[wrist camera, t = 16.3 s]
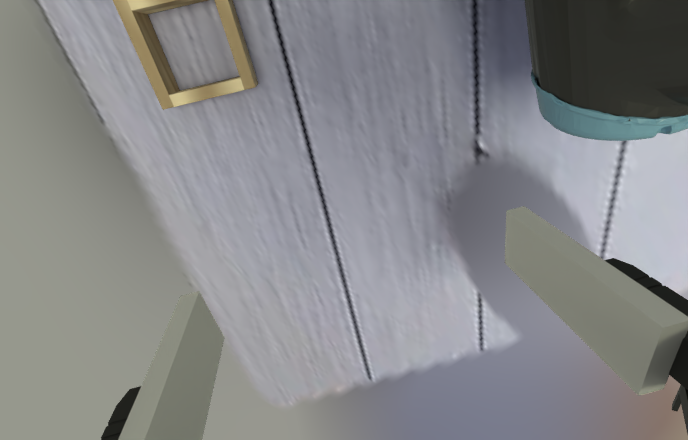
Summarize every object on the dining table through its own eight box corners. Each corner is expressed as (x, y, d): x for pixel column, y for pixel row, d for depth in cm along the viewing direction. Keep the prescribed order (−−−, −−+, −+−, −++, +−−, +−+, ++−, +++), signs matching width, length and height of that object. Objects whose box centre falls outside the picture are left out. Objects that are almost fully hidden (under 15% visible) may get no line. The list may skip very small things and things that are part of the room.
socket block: (226, -19, 34) (219, -27, 31) (258, 83, 39) (255, 87, 35) (130, 3, 34) (112, -2, 30) (174, 103, 39) (162, 109, 35)
